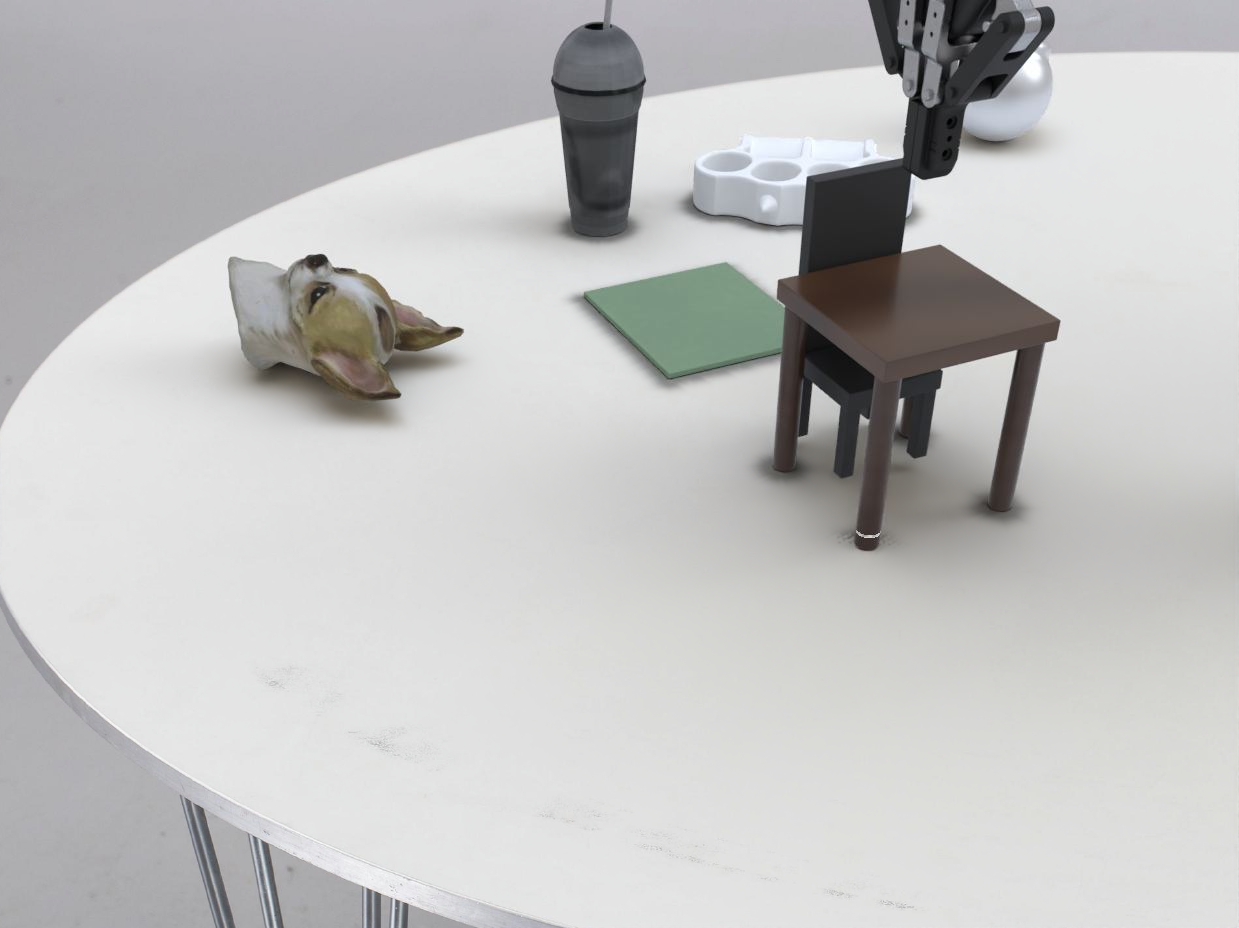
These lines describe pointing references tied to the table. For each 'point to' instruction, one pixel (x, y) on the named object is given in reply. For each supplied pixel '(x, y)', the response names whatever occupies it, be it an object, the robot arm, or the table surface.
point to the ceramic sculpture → (327, 323)
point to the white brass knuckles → (774, 175)
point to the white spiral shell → (1014, 101)
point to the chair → (840, 235)
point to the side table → (910, 353)
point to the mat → (694, 318)
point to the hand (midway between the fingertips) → (926, 172)
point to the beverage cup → (599, 122)
